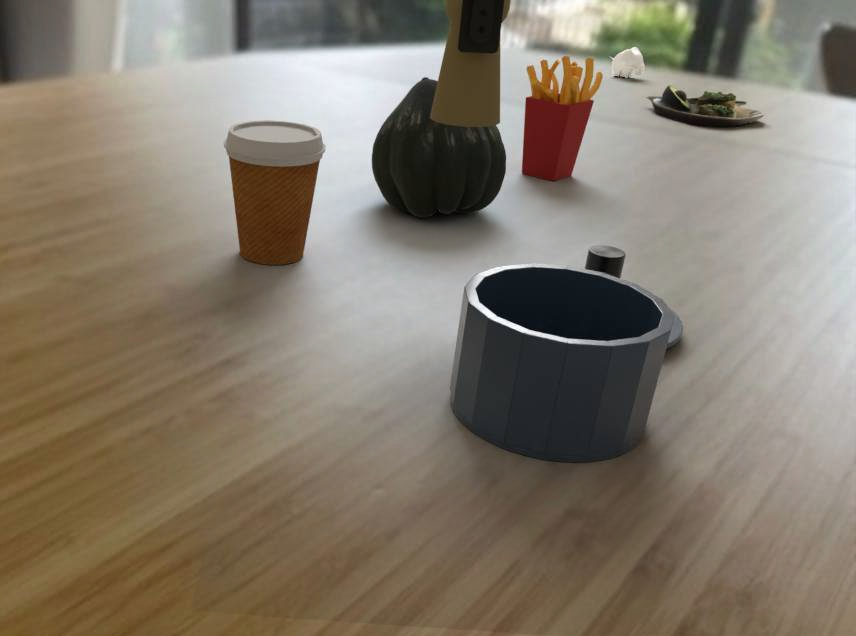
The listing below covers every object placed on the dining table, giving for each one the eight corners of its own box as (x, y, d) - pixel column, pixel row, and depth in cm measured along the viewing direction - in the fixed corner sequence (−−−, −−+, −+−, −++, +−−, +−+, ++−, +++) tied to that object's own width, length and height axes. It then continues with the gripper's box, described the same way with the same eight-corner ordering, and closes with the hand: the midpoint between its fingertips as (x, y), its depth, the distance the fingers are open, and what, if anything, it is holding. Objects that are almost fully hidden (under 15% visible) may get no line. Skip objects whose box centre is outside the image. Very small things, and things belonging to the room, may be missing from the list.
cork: (515, 123, 77) (534, -19, 72) (462, 129, 74) (478, -18, 69) (467, 109, 81) (482, -25, 76) (415, 115, 78) (427, -24, 73)
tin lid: (652, 295, 85) (669, 228, 82) (704, 367, 72) (726, 290, 69) (495, 285, 85) (506, 217, 82) (520, 355, 72) (534, 278, 69)
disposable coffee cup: (299, 278, 84) (305, 149, 78) (206, 260, 87) (205, 134, 81) (332, 247, 92) (340, 127, 86) (247, 231, 95) (249, 114, 89)
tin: (616, 372, 71) (641, 270, 66) (669, 469, 59) (703, 352, 55) (442, 360, 71) (456, 258, 67) (459, 455, 59) (477, 337, 55)
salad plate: (708, 102, 173) (714, 77, 171) (786, 123, 159) (794, 96, 157) (632, 107, 165) (637, 81, 163) (707, 130, 151) (715, 101, 149)
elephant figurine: (638, 81, 190) (644, 52, 187) (601, 76, 194) (606, 47, 191) (647, 77, 195) (653, 48, 192) (610, 72, 199) (616, 44, 196)
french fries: (556, 184, 117) (578, 62, 110) (501, 170, 122) (519, 53, 115) (588, 173, 123) (611, 57, 116) (535, 160, 128) (554, 47, 120)
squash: (530, 187, 95) (509, 59, 98) (392, 193, 93) (375, 61, 96) (488, 238, 109) (471, 125, 112) (366, 244, 107) (352, 128, 110)
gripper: (442, -206, 74) (421, 31, 82) (462, -233, 59) (435, 61, 67) (534, -203, 74) (504, 35, 82) (578, -229, 59) (536, 65, 67)
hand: (473, 44), depth 75 cm, fingers closed on cork, 5 cm apart
